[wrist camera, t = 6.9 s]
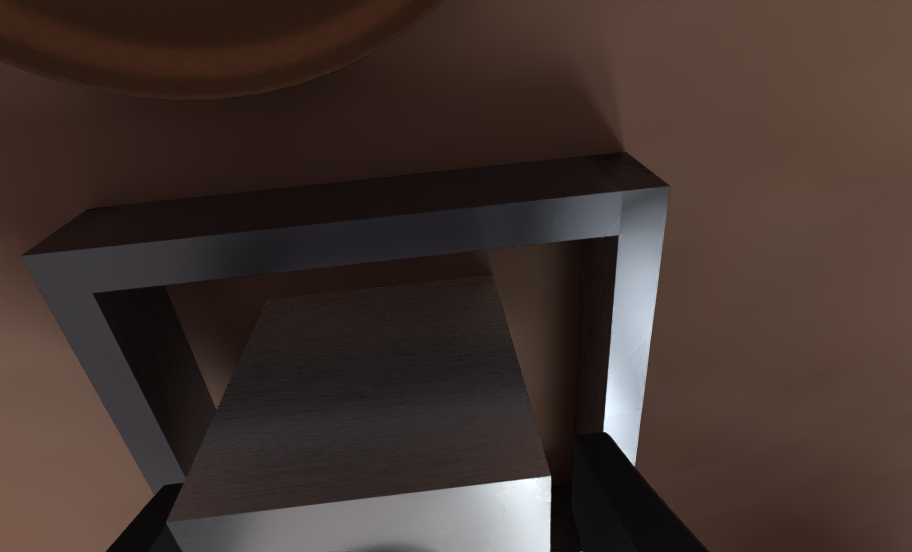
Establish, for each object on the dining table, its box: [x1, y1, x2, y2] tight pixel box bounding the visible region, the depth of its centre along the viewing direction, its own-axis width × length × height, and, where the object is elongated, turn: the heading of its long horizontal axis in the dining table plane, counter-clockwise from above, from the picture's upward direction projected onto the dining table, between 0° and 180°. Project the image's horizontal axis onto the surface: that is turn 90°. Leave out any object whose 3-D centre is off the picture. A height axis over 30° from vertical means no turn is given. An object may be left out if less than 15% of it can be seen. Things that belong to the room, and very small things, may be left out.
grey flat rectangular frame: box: [20, 152, 670, 552], centre depth 14 cm, size 20×11×2 cm, turn 5°
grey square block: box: [166, 275, 551, 552], centre depth 10 cm, size 5×5×6 cm
